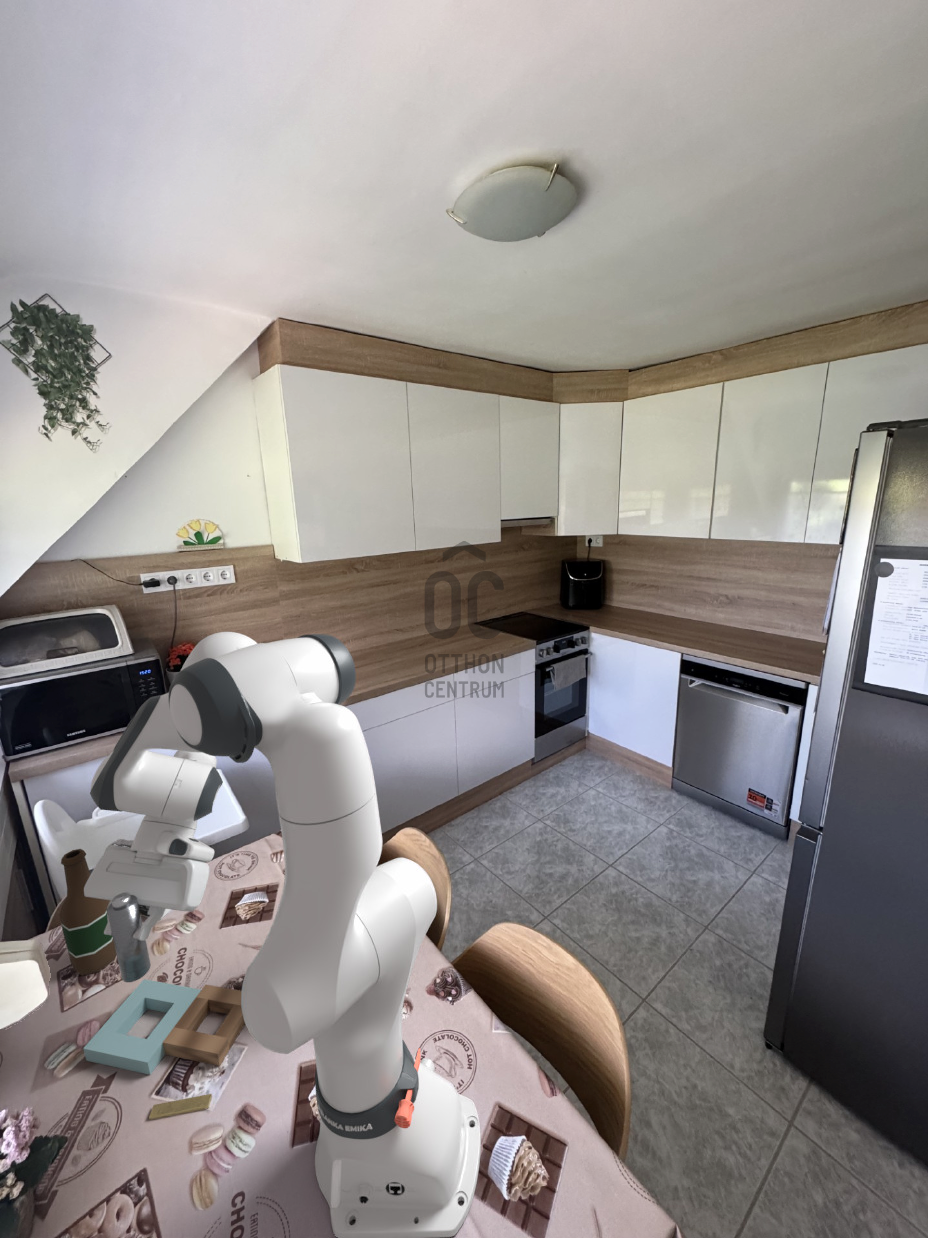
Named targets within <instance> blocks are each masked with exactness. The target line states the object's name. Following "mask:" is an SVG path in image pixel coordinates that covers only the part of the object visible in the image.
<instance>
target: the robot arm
mask: <svg viewBox="0 0 928 1238" xmlns="http://www.w3.org/2000/svg"><path fill="white" fill-rule="evenodd" d="M356 679H357V675H356V665H355V662H354V658H353V657H352V655H351V653H350V651H349V649H348V648H347V647H346V645H345V644H344V643H343V642H342V641H341V640H339V639H338V638H337V637H335V636H333V635H330V634H325V633H311V634H302V635H300V636H297V637H295V638H287V639H280V640H276V641H271V642H264V643H263V642H260V643H258V642H257V641H256V640H254V639H252V638H251V637H249V636H248V635H245V634H242V633H241V632H240V633H239V632H234V631H221V632H215V633H213V634H209V635H208V636H206V637H204V638H203V639H201V640H200V641H199V642H198V643H197V644H196V645H194V647H193V649H192V650H191V652H190V653H189V654H188V657H187V658H186V660H185V662H184V663H183V665H182V668H181V669H180V671H179V672H177V673H176V674H175V675H174V676H173V679H172V681H171V684H170V686H169V690H168V692H167V693H164V694H161V695H160V694H159V695H156V696H150V697H149V698H148V699H147V700H145V702H143V704H141V706H140V707H139V708H138V709H137V711H136V713H135V714H134V716H133V718H132V719H131V720H130V721H129V723H127V726H126V727H125V729H124V731H123V732H122V734H121V735H120V737H119V739H118V741H117V743H116V744H115V746H114V747H113V750H112V751H111V753H110V754H108V755H107V756H106V757H105V758H104V759H103V760H102V762H101V763H100V764H99V766H98V768H97V769H96V771H95V773H94V775H93V778H92V781H91V783H90V791H89V795H90V796H91V799H92V801H93V802H94V804H95V805H96V807H98V809H99V810H100V811H101V810H102V811H112V812H121V813H122V812H124V813H131V814H136V815H142V816H144V817H143V818H142V820H141V823H140V825H139V827H138V830H137V832H136V833H135V837H134V839H133V840H132V839H131V840H128V839H125V838H123V839H122V838H118V839H117V840H116V841H113V842H111V843H110V844H109V845H107V847H106V848H105V850H104V852H103V854H102V856H101V857H100V859H99V860H98V861H97V863H96V865H95V866H94V868H93V869H92V871H91V872H90V874H91V875H90V877H89V879H88V881H87V883H86V885H85V887H84V896H85V897H91V898H98V899H105V900H110V902H109V905H110V904H111V903H112V899H113V898H114V897H115V896H117V895H119V894H121V893H129V894H130V895H134V896H136V897H137V901H138V905H145V906H150V908H149V911H148V913H147V914H148V915H150V916H149V917H146V918H147V919H145V921H144V922H142V926H137V927H136V929H135V933H134V934H133V939H136V940H148V938H149V937H150V934H151V931H152V929H153V928H154V926H155V925H156V924H157V923H158V922H159V921H161V920H162V919H161V917H162V916H163V914H164V912H165V909H171V911H172V910H173V911H177V912H179V911H180V912H194V911H195V910H196V909H197V908H198V907H199V906H200V905H201V902H202V900H203V897H204V895H205V892H206V887H207V884H208V882H209V876H210V867H209V864H208V863H209V862H211V861H212V860H213V858H214V856H215V849H214V848H212V847H210V845H207V844H206V843H204V842H202V841H200V840H199V839H197V838H195V837H194V836H195V833H196V831H197V827H198V825H197V824H198V820H201V819H203V818H205V817H206V816H208V815H210V814H211V813H213V807H214V804H215V801H216V798H217V796H218V793H219V791H220V789H221V787H222V786H223V783H224V781H223V779H222V777H221V775H220V773H219V771H218V769H217V764H218V759H217V757H229V758H230V759H231V760H232V761H233V762H234V763H237V764H244V763H246V762H248V761H249V760H250V758H251V757H252V755H253V753H254V751H255V749H256V750H257V751H259V753H261V754H262V755H263V756H264V757H265V758H266V760H267V761H268V763H269V764H270V767H271V768H270V769H271V771H272V775H273V779H274V789H275V792H274V793H275V799H276V801H275V802H276V807H277V808H276V809H277V812H278V820H279V825H280V830H281V831H280V832H281V837H282V838H281V839H282V840H281V841H282V847H283V848H282V849H283V858H284V881H283V886H282V887H283V888H282V893H281V896H280V900H279V904H278V908H277V911H276V913H275V916H274V919H273V922H272V925H271V926H270V929H269V931H268V934H267V935H266V938H265V939H264V942H263V943H262V945H261V947H260V948H259V950H258V952H257V954H256V955H255V956H254V957H253V960H252V961H251V963H250V964H249V966H248V967H247V968H246V972H245V974H244V977H243V982H242V986H241V991H242V992H241V1007H242V1013H243V1018H244V1021H245V1027H246V1029H247V1030H248V1032H249V1034H250V1035H251V1036H252V1038H253V1039H254V1041H256V1042H257V1043H258V1044H259V1045H260V1046H261V1047H263V1048H265V1049H266V1050H268V1051H270V1052H273V1053H276V1054H283V1055H288V1054H291V1053H293V1052H294V1051H295V1050H297V1049H299V1048H300V1047H302V1046H304V1045H305V1044H306V1043H308V1042H311V1040H312V1041H313V1049H314V1056H315V1065H316V1068H315V1076H314V1086H315V1097H316V1107H317V1110H318V1114H319V1116H320V1126H319V1135H318V1137H317V1142H316V1144H315V1152H314V1153H315V1155H314V1167H315V1168H314V1169H315V1175H316V1180H317V1182H318V1183H317V1184H318V1186H319V1189H320V1191H321V1193H322V1194H323V1196H324V1198H325V1200H326V1202H327V1204H328V1207H329V1214H330V1222H331V1224H330V1225H331V1229H332V1233H333V1235H334V1234H335V1235H334V1237H335V1236H336V1237H338V1238H450V1237H451V1238H452V1237H453V1236H454V1237H455V1235H457V1234H458V1231H459V1230H460V1229H461V1227H462V1226H463V1224H464V1222H465V1220H466V1218H467V1217H468V1214H469V1212H470V1209H471V1206H472V1203H473V1199H474V1195H475V1191H476V1187H477V1182H478V1176H479V1171H480V1161H481V1151H482V1150H481V1148H482V1147H481V1144H482V1143H481V1142H482V1135H481V1132H482V1131H481V1124H480V1118H479V1113H478V1111H477V1107H476V1104H475V1103H474V1100H472V1099H470V1098H469V1097H467V1096H465V1095H462V1094H460V1093H458V1091H457V1089H456V1087H455V1085H453V1083H452V1082H450V1081H449V1080H447V1079H446V1078H444V1077H443V1076H441V1075H439V1074H438V1073H437V1072H435V1070H436V1069H435V1068H436V1066H435V1064H434V1062H433V1061H432V1059H429V1058H427V1057H425V1058H424V1057H423V1058H422V1059H421V1054H422V1053H421V1048H418V1050H417V1054H416V1057H415V1058H414V1056H413V1055H412V1053H411V1052H410V1049H409V1048H408V1046H407V1044H406V1043H405V1041H404V1039H403V1008H404V1003H405V997H406V993H407V990H408V985H409V982H410V978H411V975H412V972H413V968H414V965H415V962H416V959H417V956H418V953H419V950H420V947H421V945H422V942H423V941H424V939H425V937H426V935H427V932H428V930H429V928H430V927H431V924H432V923H433V921H434V919H435V917H436V914H437V911H438V900H437V893H436V889H435V886H434V884H433V881H432V879H431V877H430V875H429V874H428V873H427V871H425V869H424V868H423V867H422V866H420V864H418V863H417V862H415V861H413V860H411V859H408V858H406V857H397V858H394V859H391V860H388V861H387V862H384V863H382V864H379V861H380V858H381V855H382V851H383V835H382V834H383V833H382V826H381V818H380V811H379V804H378V803H379V802H378V796H377V788H376V783H375V777H374V775H375V774H374V769H373V766H372V760H371V756H370V752H369V749H368V745H367V742H366V739H365V735H364V733H363V731H362V730H363V729H362V728H361V725H360V722H359V719H358V717H357V716H356V715H355V714H354V712H353V711H352V710H351V709H349V708H348V707H346V706H344V705H342V704H343V703H344V702H345V701H346V700H348V699H349V697H351V695H352V693H353V691H354V689H355V686H356V681H357V680H356ZM151 750H171V751H176V752H175V753H174V754H173V756H172V755H169V754H168V755H167V754H164V753H159V752H154V751H151ZM109 905H108V906H109ZM107 908H108V907H107ZM107 918H108V914H107ZM160 919H161V920H160ZM104 934H106V935H112V932H111V928H110V923H109V919H108V923H107V926H106V928H105V931H104ZM471 1125H474V1126H473V1127H471ZM461 1201H462V1202H463V1204H462V1205H460V1204H459V1202H461ZM353 1220H354V1221H355V1223H353V1224H352V1225H351V1224H350V1223H351V1222H352V1221H353ZM336 1237H335V1238H336Z"/></svg>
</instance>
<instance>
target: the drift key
mask: <svg viewBox="0 0 928 1238" xmlns="http://www.w3.org/2000/svg"><path fill="white" fill-rule="evenodd" d="M212 1097H213V1095H212V1093H208V1094H203V1095H198V1096H197V1095H196V1096H192V1097H188V1098H182V1099H176V1100H171V1101H167V1102H162V1103H155V1104H153V1106H152V1109H151V1112H150V1114H149V1116H148V1118H149V1121H151V1120H158V1119H161V1118H167V1117H171V1116H176V1115H182V1114H187V1113H192V1112H197V1111H202V1110H207V1109H209V1108H210V1105H211V1101H212V1099H213V1098H212Z"/></svg>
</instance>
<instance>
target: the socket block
mask: <svg viewBox="0 0 928 1238" xmlns="http://www.w3.org/2000/svg"><path fill="white" fill-rule="evenodd" d="M241 992H242V990H238V989H233V988H226V987H223V986H215V985H210V984H204V986H203V987H202V989H201V991H200V993H199V994H198V995H197V997H196V998H195V999H194V1001H193V1002H192V1003H191V1005H190V1006H189V1007H188V1009H187V1010H186V1011H185V1013H184V1014H183V1015H182V1017H181V1018H180V1020H179V1021H178V1022H177V1024H176V1025H175V1026H174V1028H173V1029H172V1030H171V1032H170V1033H169V1034H168V1036H167V1037H166V1038H165V1040H164V1041H163V1047H164V1051H165V1055H166V1056H172V1057H176V1058H180V1059H184V1060H189V1061H195V1062H200V1063H204V1064H208V1065H213V1066H217V1067H221V1065H222V1063H223V1062H224V1060H225V1059H226V1056H227V1055H228V1053H229V1052H230V1050H231V1049H232V1047H233V1045H234V1044H235V1042H236V1041H237V1039H238V1036H239V1035H240V1033H241V1032H242V1030H243V1028H244V1027H245V1026H246V1024H245V1021H244V1018H243V1013H242V1007H241ZM210 1012H213V1013H214V1012H215V1013H220V1014H226V1017H225V1018H224V1020H223V1022H222V1023H221V1024H220V1026H219V1028H218V1029H217V1031H216V1032H215V1033H214V1034H210V1033H209V1034H208V1033H204V1032H201V1031H198V1029H199V1028H200V1026H201V1024H202V1023H203V1022H204V1021H205V1019H206V1018H207V1016H208V1015H209V1013H210Z"/></svg>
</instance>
